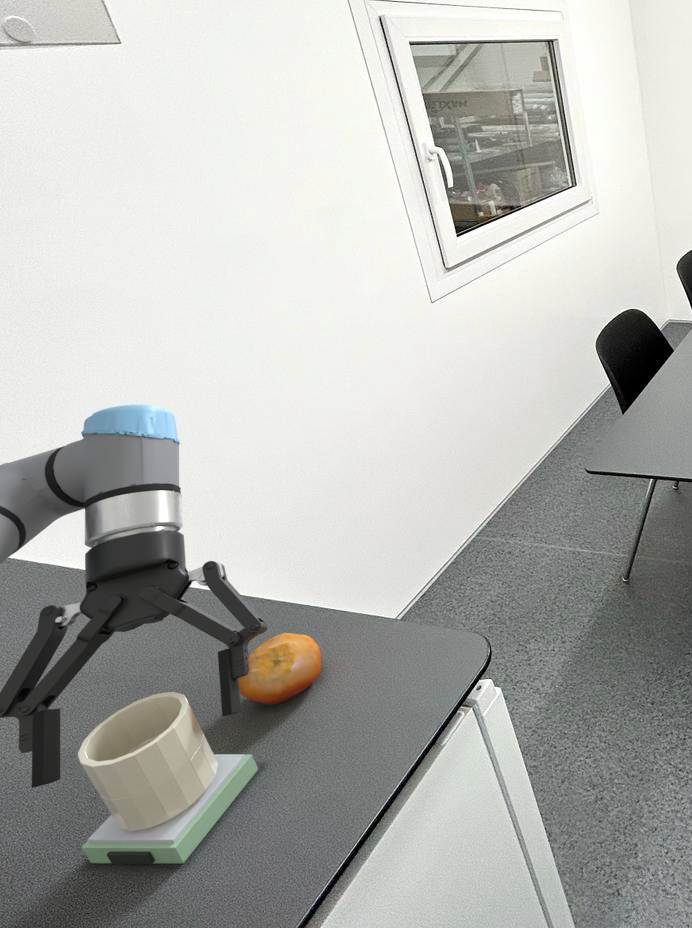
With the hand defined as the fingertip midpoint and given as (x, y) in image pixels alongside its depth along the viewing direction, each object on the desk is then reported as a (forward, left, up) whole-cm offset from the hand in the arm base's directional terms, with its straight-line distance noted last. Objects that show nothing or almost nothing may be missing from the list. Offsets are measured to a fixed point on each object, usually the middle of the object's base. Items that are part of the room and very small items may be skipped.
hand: (144, 747), depth 63 cm
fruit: (+8, +12, -10) cm, 18 cm away
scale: (0, 0, -10) cm, 10 cm away
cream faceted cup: (0, 0, -7) cm, 7 cm away
